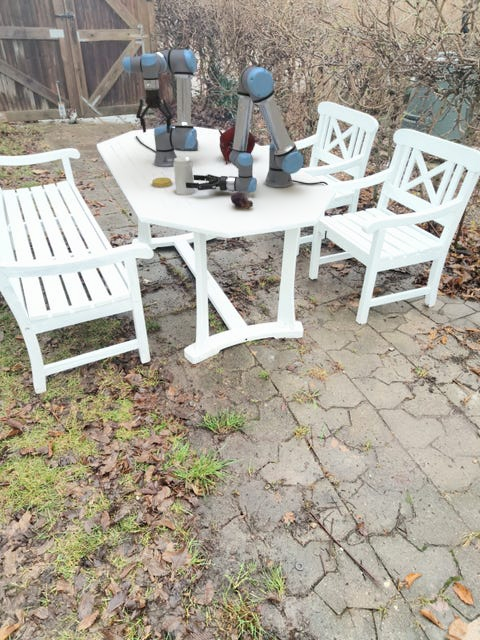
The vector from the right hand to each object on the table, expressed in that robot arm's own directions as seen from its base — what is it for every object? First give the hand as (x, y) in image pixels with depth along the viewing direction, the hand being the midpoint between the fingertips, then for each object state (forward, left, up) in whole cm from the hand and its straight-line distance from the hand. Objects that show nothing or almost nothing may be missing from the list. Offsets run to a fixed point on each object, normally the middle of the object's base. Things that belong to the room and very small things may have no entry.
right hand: (189, 181), depth 245 cm
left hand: (+14, -18, +22) cm, 32 cm away
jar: (+3, -1, -6) cm, 7 cm away
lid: (+14, -18, -4) cm, 23 cm away
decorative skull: (-40, -58, -6) cm, 71 cm away
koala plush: (-11, -96, -6) cm, 97 cm away
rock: (-21, +31, -6) cm, 38 cm away
